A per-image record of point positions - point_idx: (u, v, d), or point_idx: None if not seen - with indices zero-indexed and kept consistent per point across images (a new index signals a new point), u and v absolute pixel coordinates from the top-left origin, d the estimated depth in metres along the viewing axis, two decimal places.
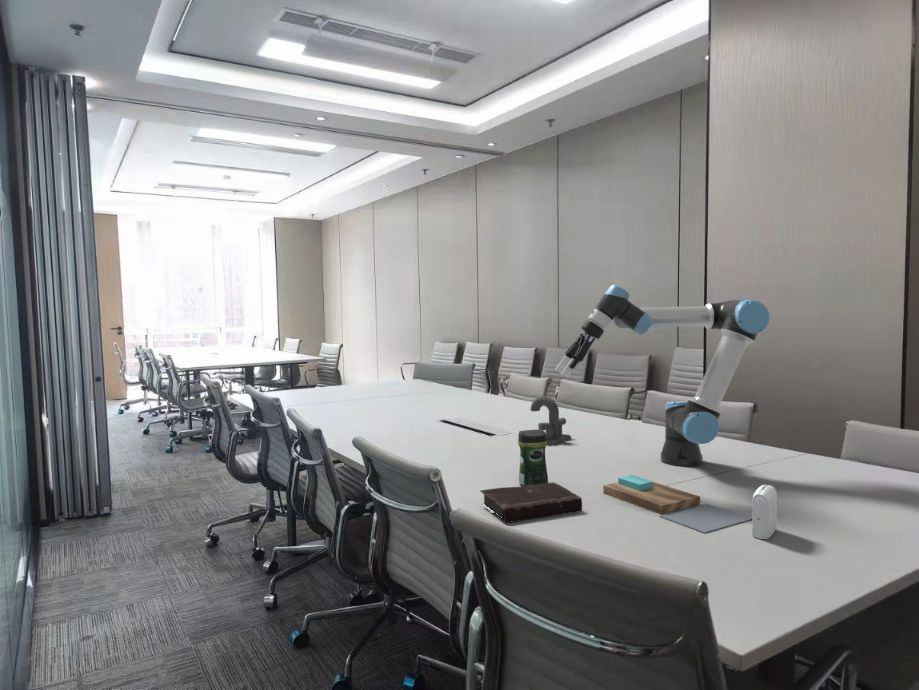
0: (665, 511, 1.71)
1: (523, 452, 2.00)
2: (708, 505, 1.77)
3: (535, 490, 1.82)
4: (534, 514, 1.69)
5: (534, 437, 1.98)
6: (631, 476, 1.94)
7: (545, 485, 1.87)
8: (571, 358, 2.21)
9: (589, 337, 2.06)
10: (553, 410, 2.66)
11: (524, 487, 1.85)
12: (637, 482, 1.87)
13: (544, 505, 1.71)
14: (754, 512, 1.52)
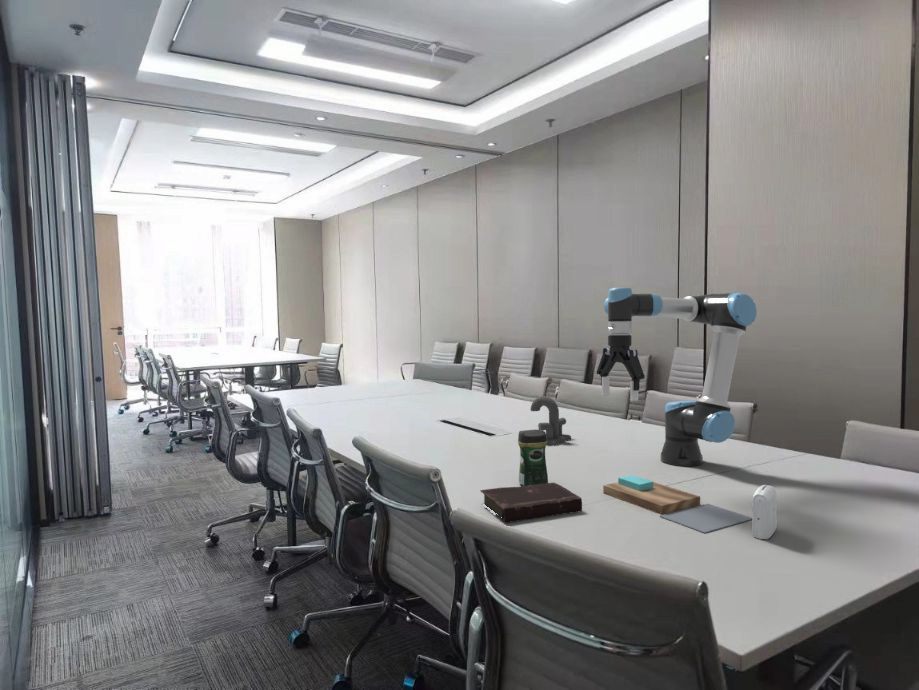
0: (665, 511, 1.71)
1: (523, 452, 2.00)
2: (708, 505, 1.77)
3: (535, 490, 1.82)
4: (534, 514, 1.69)
5: (534, 437, 1.98)
6: (631, 476, 1.94)
7: (545, 485, 1.87)
8: (607, 375, 2.07)
9: (632, 352, 1.93)
10: (553, 410, 2.66)
11: (524, 487, 1.86)
12: (637, 482, 1.87)
13: (543, 505, 1.71)
14: (754, 512, 1.52)
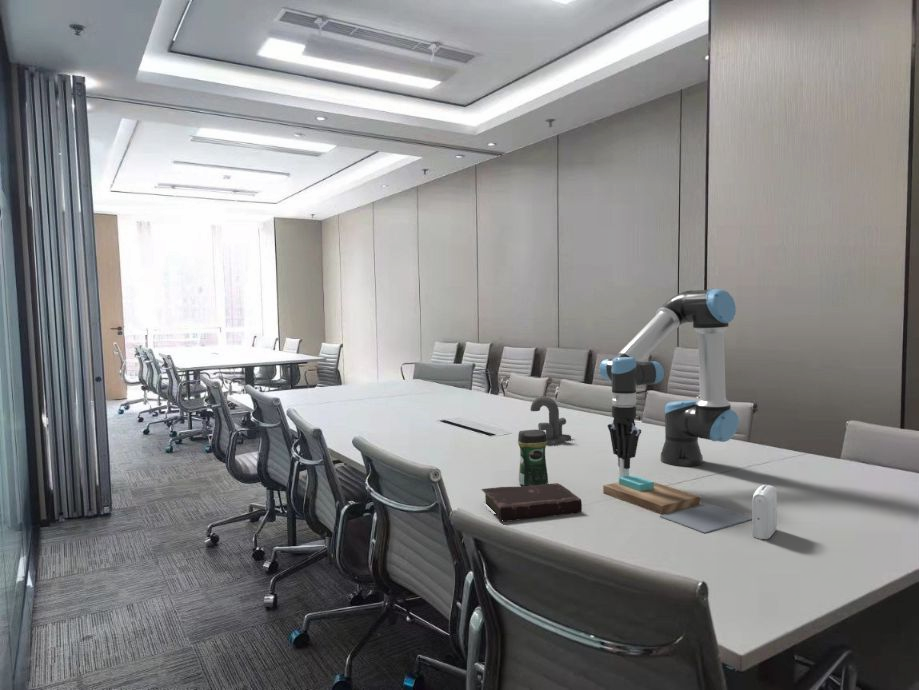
0: (665, 511, 1.71)
1: (523, 452, 2.00)
2: (708, 505, 1.77)
3: (536, 491, 1.82)
4: (531, 514, 1.69)
5: (534, 437, 1.98)
6: (632, 476, 1.93)
7: (548, 486, 1.87)
8: None
9: (636, 433, 1.88)
10: (553, 410, 2.66)
11: (526, 487, 1.86)
12: (638, 482, 1.87)
13: (541, 505, 1.70)
14: (754, 512, 1.52)
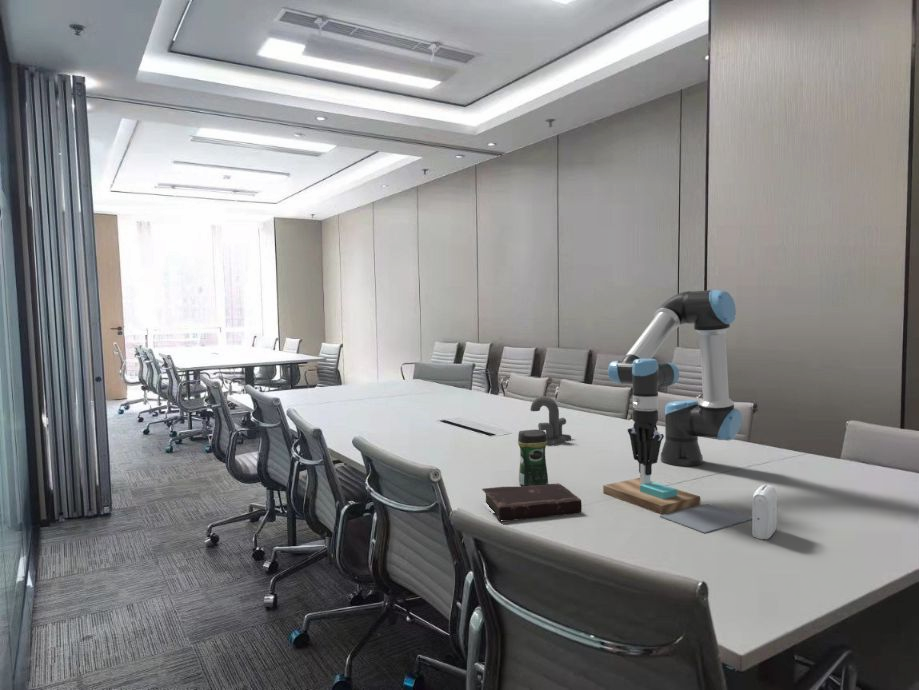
0: (665, 511, 1.71)
1: (523, 452, 2.00)
2: (708, 505, 1.77)
3: (537, 491, 1.82)
4: (530, 514, 1.69)
5: (534, 437, 1.98)
6: (653, 483, 1.85)
7: (549, 486, 1.86)
8: None
9: (658, 438, 1.80)
10: (553, 410, 2.66)
11: (527, 487, 1.86)
12: (660, 490, 1.79)
13: (541, 505, 1.70)
14: (754, 512, 1.52)
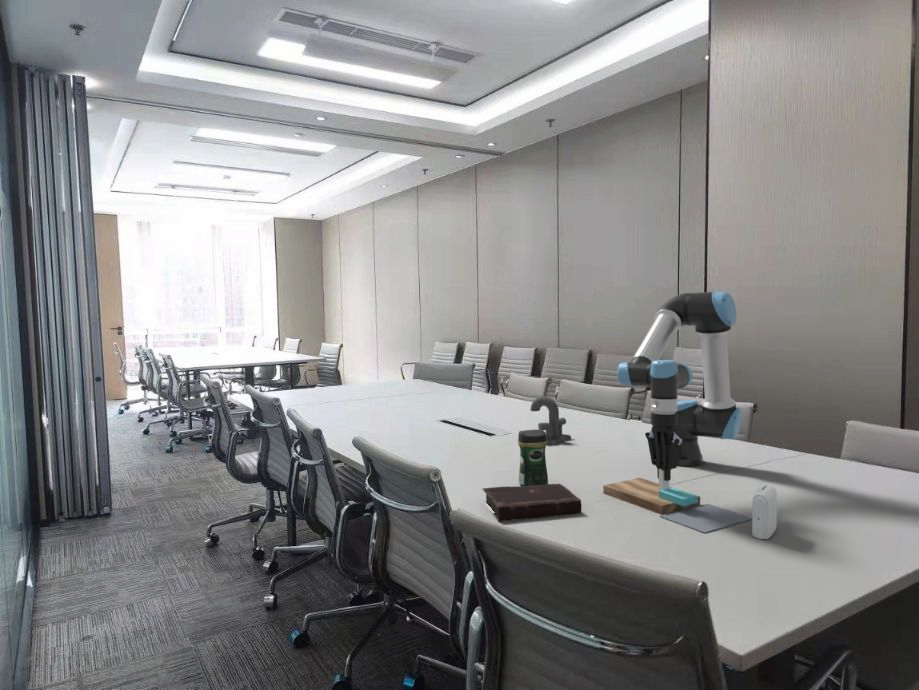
0: (665, 511, 1.71)
1: (523, 452, 2.00)
2: (708, 505, 1.77)
3: (537, 491, 1.82)
4: (529, 514, 1.69)
5: (534, 437, 1.98)
6: (672, 489, 1.79)
7: (549, 486, 1.86)
8: None
9: (678, 443, 1.73)
10: (553, 410, 2.66)
11: (527, 487, 1.86)
12: (681, 496, 1.72)
13: (540, 505, 1.70)
14: (754, 512, 1.52)
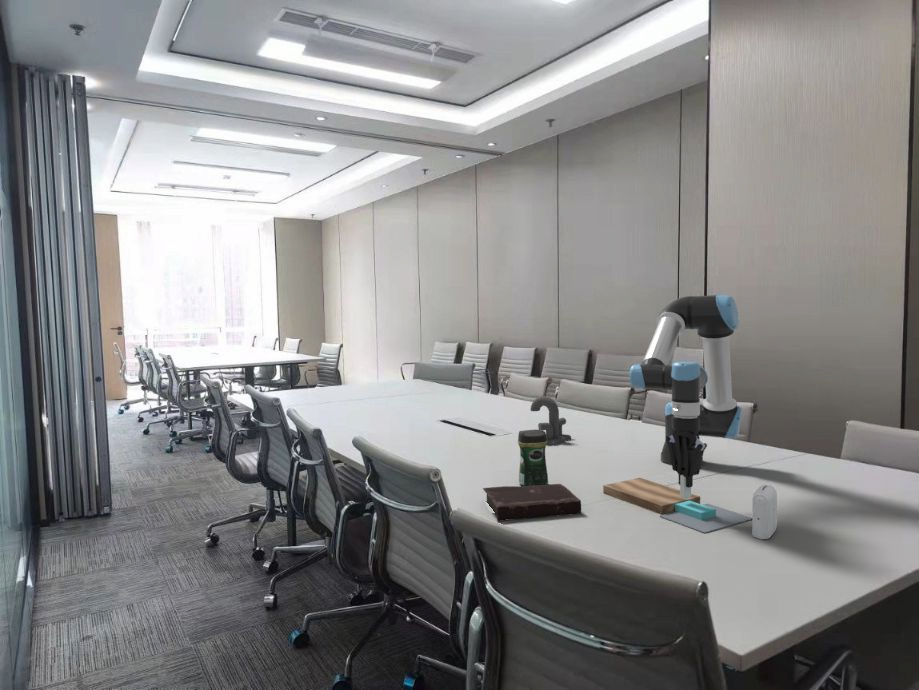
0: (665, 511, 1.71)
1: (523, 452, 2.00)
2: (708, 505, 1.77)
3: (537, 491, 1.82)
4: (529, 514, 1.69)
5: (534, 437, 1.98)
6: (689, 502, 1.74)
7: (550, 486, 1.86)
8: None
9: (701, 448, 1.66)
10: (553, 410, 2.66)
11: (528, 487, 1.86)
12: (698, 510, 1.67)
13: (539, 505, 1.70)
14: (754, 512, 1.52)
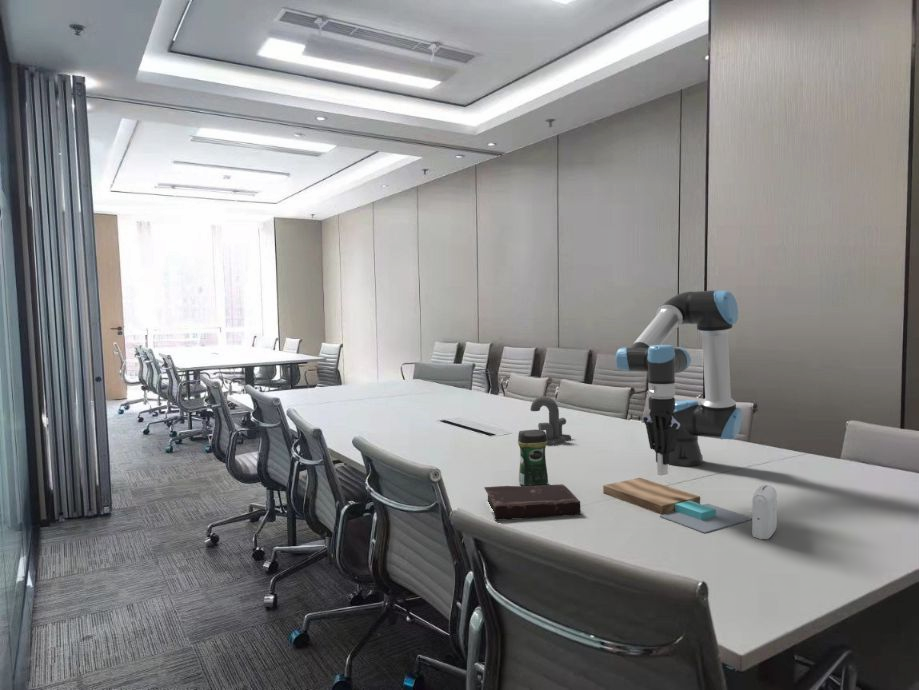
0: (665, 511, 1.71)
1: (523, 452, 2.00)
2: (708, 505, 1.77)
3: (538, 491, 1.82)
4: (527, 514, 1.70)
5: (534, 437, 1.98)
6: (689, 502, 1.74)
7: (552, 486, 1.86)
8: None
9: (676, 427, 1.74)
10: (553, 410, 2.66)
11: (530, 487, 1.86)
12: (698, 510, 1.67)
13: (538, 505, 1.70)
14: (754, 512, 1.52)
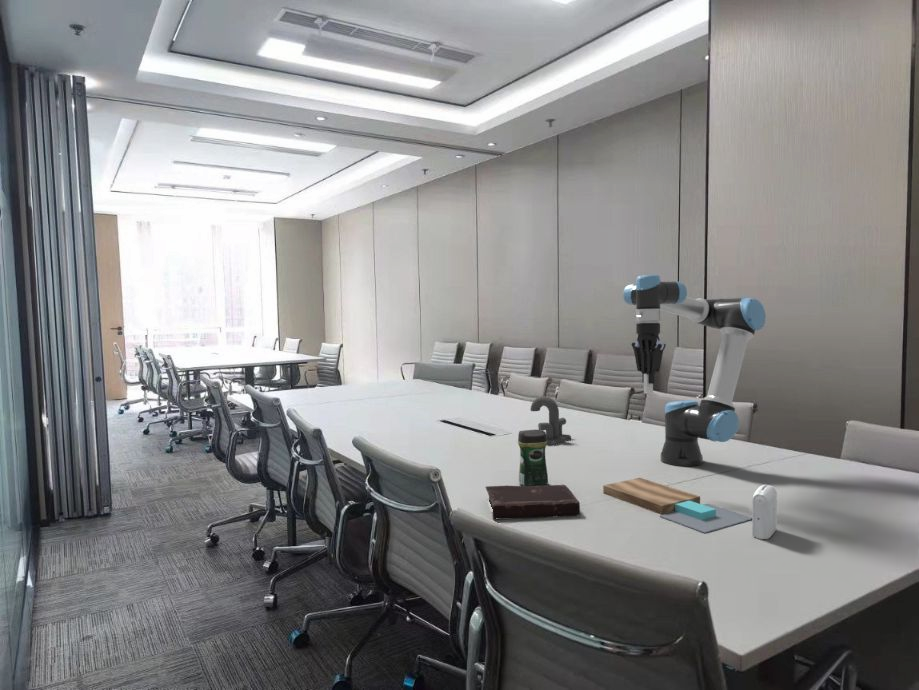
0: (665, 511, 1.71)
1: (523, 452, 2.00)
2: (708, 505, 1.77)
3: (539, 491, 1.81)
4: (525, 514, 1.70)
5: (534, 437, 1.98)
6: (689, 502, 1.74)
7: (553, 487, 1.85)
8: None
9: (660, 347, 1.93)
10: (553, 410, 2.66)
11: (531, 487, 1.86)
12: (698, 510, 1.67)
13: (536, 505, 1.70)
14: (754, 512, 1.52)
